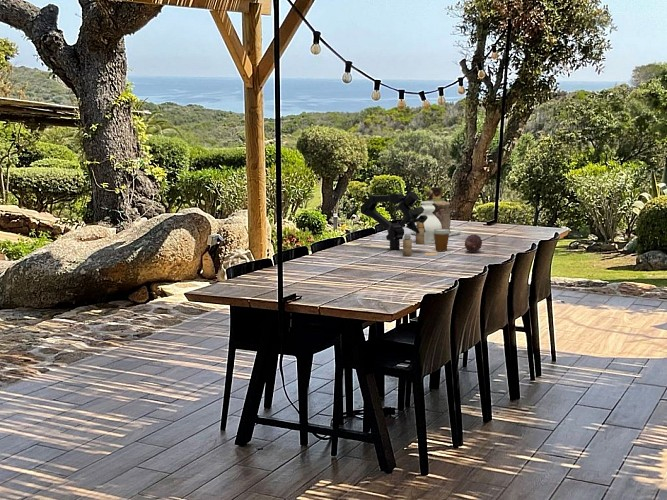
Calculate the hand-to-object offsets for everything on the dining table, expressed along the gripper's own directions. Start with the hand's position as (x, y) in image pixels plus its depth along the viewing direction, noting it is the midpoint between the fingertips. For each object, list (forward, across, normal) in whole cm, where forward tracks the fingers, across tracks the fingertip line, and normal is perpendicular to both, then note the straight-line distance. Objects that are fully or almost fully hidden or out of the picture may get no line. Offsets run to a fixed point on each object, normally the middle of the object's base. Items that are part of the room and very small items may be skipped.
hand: (421, 232), depth 483 cm
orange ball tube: (+4, 0, +6) cm, 7 cm away
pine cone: (+20, +27, -2) cm, 34 cm away
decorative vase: (-9, +36, +27) cm, 46 cm away
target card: (+11, -7, +6) cm, 15 cm away
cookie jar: (-22, +68, +40) cm, 82 cm away
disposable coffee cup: (+9, +18, +9) cm, 22 cm away
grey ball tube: (+9, -14, +7) cm, 18 cm away
